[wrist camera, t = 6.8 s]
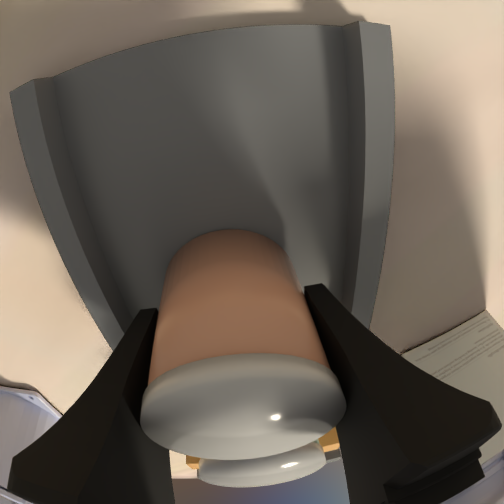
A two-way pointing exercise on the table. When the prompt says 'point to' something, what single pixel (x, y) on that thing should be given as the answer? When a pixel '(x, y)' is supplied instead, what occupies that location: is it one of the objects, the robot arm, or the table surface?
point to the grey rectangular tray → (217, 158)
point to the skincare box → (469, 366)
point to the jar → (237, 354)
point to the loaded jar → (264, 467)
